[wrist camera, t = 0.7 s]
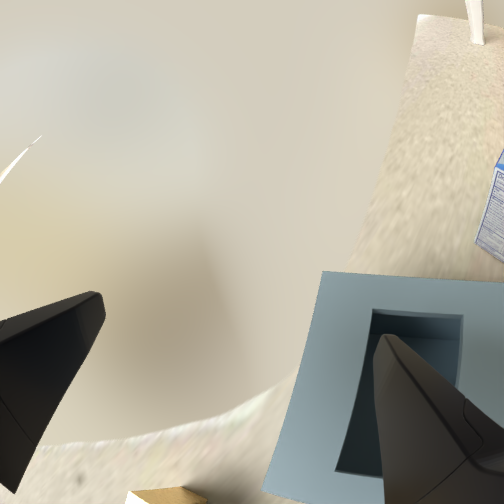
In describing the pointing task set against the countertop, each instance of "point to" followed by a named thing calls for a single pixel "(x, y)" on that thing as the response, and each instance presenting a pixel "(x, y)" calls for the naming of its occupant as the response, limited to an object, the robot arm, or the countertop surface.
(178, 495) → the block
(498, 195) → the medicine box
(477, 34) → the perfume bottle
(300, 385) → the coin box
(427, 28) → the countertop surface
